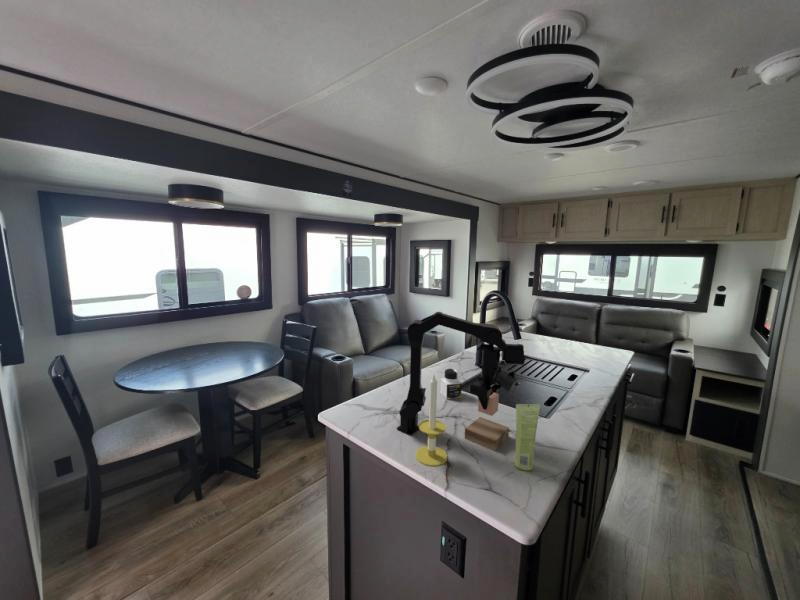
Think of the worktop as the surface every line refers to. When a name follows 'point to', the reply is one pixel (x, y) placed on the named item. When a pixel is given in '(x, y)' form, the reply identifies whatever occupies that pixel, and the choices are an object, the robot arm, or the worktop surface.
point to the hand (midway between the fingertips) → (488, 406)
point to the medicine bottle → (451, 384)
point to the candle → (432, 433)
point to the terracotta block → (490, 405)
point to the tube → (526, 434)
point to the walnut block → (487, 433)
